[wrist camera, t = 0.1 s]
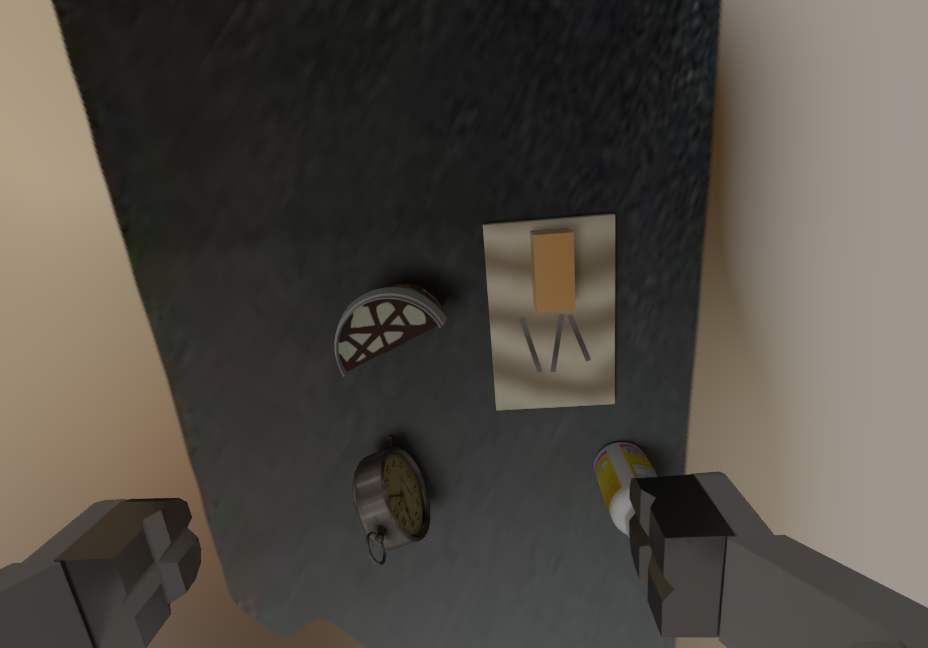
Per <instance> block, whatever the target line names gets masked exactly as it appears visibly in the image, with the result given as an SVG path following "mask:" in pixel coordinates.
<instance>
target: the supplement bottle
mask: <svg viewBox="0 0 928 648" xmlns="http://www.w3.org/2000/svg"><path fill="white" fill-rule="evenodd" d="M594 471H595V475H596V478H597V480H598V483H599V486H600V488H601V491H602V494H603V496H604V499H605V502H606V504H607V507H608V510H609V513H610V515H611V518H612V520H613V522H614V524H615V525H616V526H617V528H618V529H619V530H621V531H622V532H623V533H625V534H627V535H628V536H629V520H630V519H631V517H632V516H633V515H634V514H635V511H634V509H633V506H632V504H631V501H630V499H629V492H630V482H631V478H643V477H658V476H657V474H656V472H655V470H654V469H653V467H652V465H651V463H650V462H649V460H648V458H647V457H646V455H645V454H644V452H643V451H642V450H641V449H640V448H639V447H637V446H636V445H634V444H631V443H627V442H616V443H612V444H610V445H608V446H606V447H604V448H603V449H602V450H601V451H600V452H599V453H598V455H597V456H596V459H595V462H594ZM629 539H630V538H629Z"/></svg>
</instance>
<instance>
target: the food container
mask: <svg viewBox="0 0 928 648" xmlns="http://www.w3.org/2000/svg"><path fill="white" fill-rule="evenodd" d="M446 321H447V318H446V316H445V315H444V314H443V312H442V306H441V304H440V303H439V301H438V300H437V298H436V297H435V296H434V295H432V294H431V293H430V292H429V291H428V290H426V289H425V288H422V287H420V286H418V285H415V284H410V283H397V284H392V285H389V286H387V287H385V288H380V289H376V290H372V291H370V292H368V293H365V294H363V295H362V296H360V297H359V298H357V299H356V300H355V301H354V302H352V303H351V304H350V305H349V306H348V308H347V309H346V310H345V312H344V313H343V315H342V317H341V319H340V321H339V324H338V328H337V331H336V336H335V355H336V360H337V363H338V366H339V369H340V371H341V373H342V375H343V377H344V376H345V375H346V374H347V373H348V371H349V370H351V369H354V368H355V367H357V366H358V365H360V364H362V363H364V362H366V361H368V360H370V359H373V358H375V357H377V356H379V355H381V354H383V353H385V352H387V351H389V350H392V349H393V348H395V347H397V346H399V345H401V344H403V343H404V342H406V341H408V340H410V339H412V338H414V337H416V336H418V335H420V334H422V333H424V332H426V331H428V330H430V329H432V328H434V327H435V326H437V325H439V327H440V328H441V326H442V325H444V323H445V322H446Z"/></svg>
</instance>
